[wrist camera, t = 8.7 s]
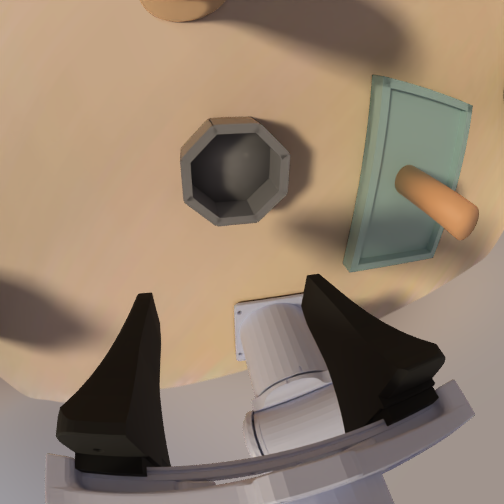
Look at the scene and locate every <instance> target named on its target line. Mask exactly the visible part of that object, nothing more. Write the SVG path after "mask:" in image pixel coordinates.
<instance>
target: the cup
mask: <svg viewBox="0 0 504 504" xmlns="http://www.w3.org/2000/svg"><path fill="white" fill-rule="evenodd" d="M180 164H181V177H182V188H183V199H184V202H185V204H187V205H188V206H189V207H191V208H192V209H193V210H195V211H196V212H198V213H199V214H200V215H202V216H203V217H204V218H206V219H207V220H208V221H210V222H211V223H212V224H214V225H215V226H216V225H217V226H227V225H237V224H248V223H257V221H258V222H259V221H260V220H261V219H262V218H263V217H264V216H265V215H266V214H267V213H268V212H269V211H270V210H271V209H272V208H273V207H274V206H275V205H277V204H278V203H279V202H280V201H281V200H282V199H283V198H284V197H285V196H286V195H287V194H286V193H288V181H289V166H290V154H289V152H288V151H287V150H286V149H285V148H284V147H283V146H282V145H281V144H280V143H279V142H278V141H277V139H276V138H275V137H274V136H273V135H272V134H271V133H270V132H269V131H268V130H267V129H266V128H265V127H264V126H263V125H262V124H260V123H259V122H257V121H256V120H254V119H253V118H251V117H220V118H210V120H209V119H207V120H206V122H205V123H204V124H203V125H202V126H201V127H200V128H199V129H198V130H197V131H196V132H195V133H194V134H193V135H192V136H191V138H190V139H189V140H188V141H187V142H186V143H185V144H184V145H183V146H182V147H181V155H180Z"/></svg>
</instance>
